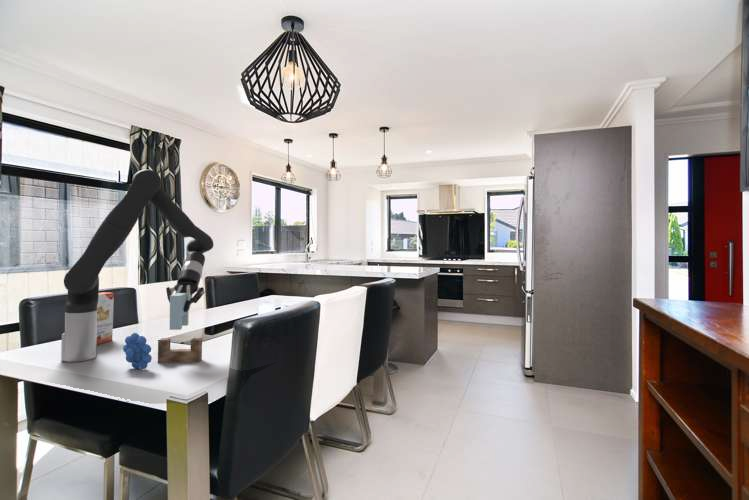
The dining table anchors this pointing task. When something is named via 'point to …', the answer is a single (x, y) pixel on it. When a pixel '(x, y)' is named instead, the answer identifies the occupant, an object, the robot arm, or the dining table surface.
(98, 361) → the dining table surface
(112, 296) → the cracker box
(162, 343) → the brown u-shaped block
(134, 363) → the grapes
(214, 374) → the dining table surface
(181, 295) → the light blue block
